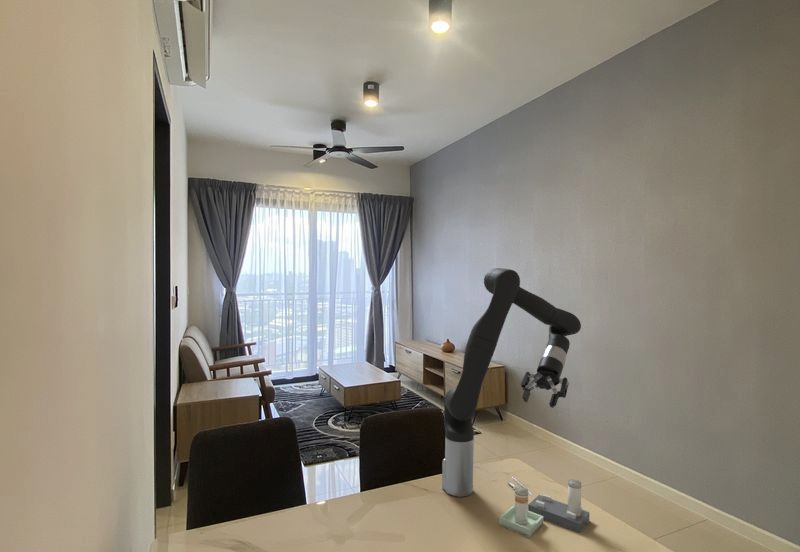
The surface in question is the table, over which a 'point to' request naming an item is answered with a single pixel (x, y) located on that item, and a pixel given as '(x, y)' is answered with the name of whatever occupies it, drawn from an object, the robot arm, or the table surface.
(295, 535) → the table surface
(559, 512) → the fuse holder
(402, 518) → the table surface
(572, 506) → the plain fuse
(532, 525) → the tray
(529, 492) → the picture light
